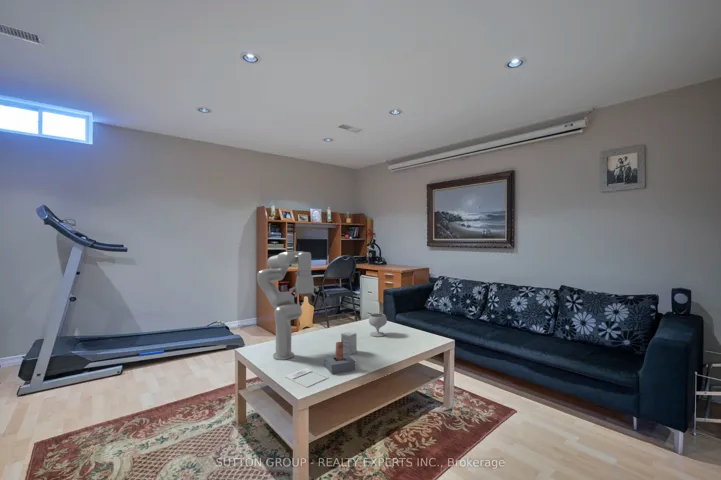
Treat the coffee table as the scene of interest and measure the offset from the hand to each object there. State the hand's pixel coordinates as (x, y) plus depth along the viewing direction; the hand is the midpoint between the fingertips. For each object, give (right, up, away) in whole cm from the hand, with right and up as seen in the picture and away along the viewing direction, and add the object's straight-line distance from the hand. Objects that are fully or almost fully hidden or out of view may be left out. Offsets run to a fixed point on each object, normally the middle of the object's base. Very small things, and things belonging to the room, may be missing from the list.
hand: (304, 303), depth 182 cm
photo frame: (+4, -37, -15) cm, 40 cm away
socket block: (+20, -36, -2) cm, 42 cm away
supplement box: (+25, -37, +22) cm, 50 cm away
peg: (+20, -36, -2) cm, 42 cm away
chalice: (+46, -37, +61) cm, 85 cm away
